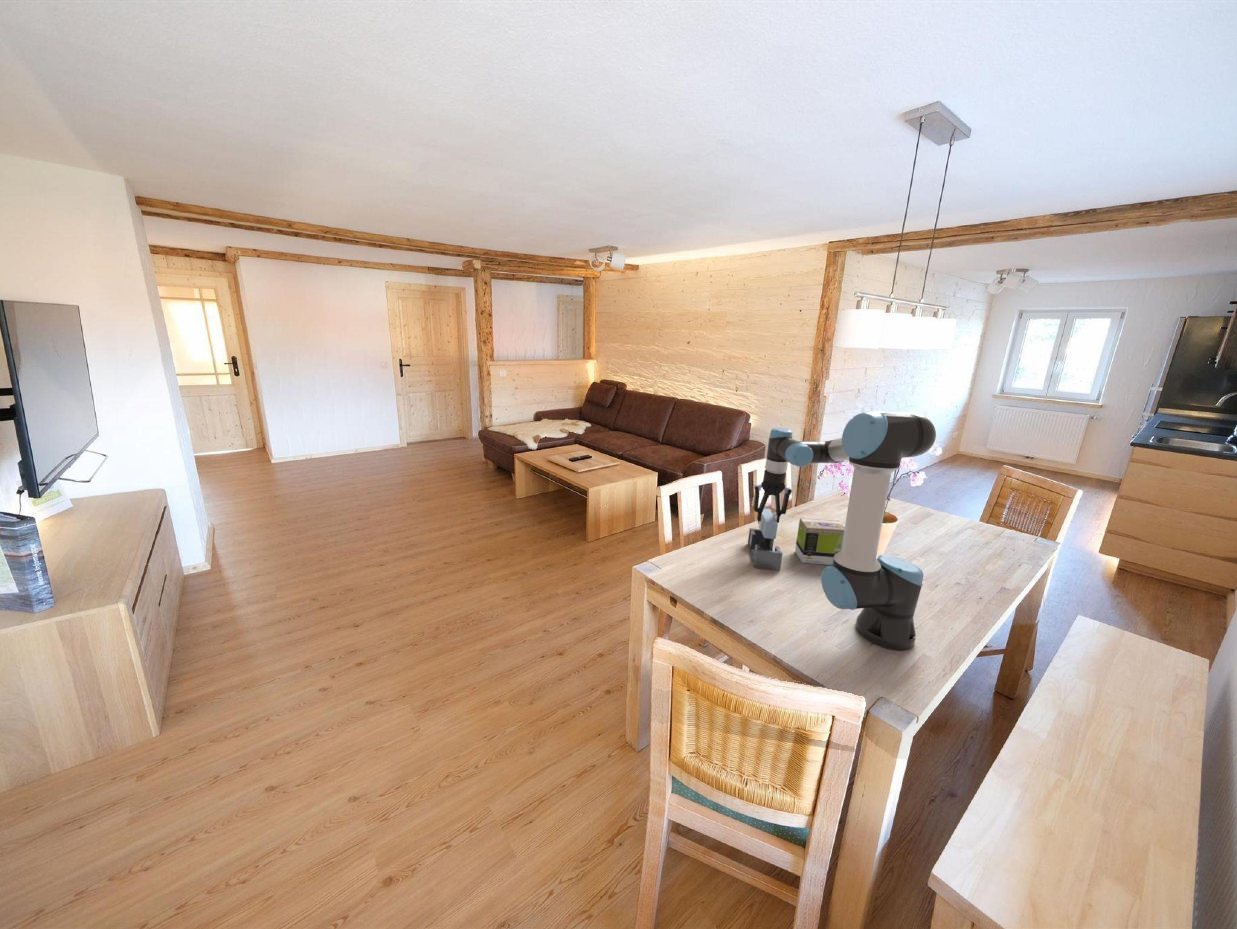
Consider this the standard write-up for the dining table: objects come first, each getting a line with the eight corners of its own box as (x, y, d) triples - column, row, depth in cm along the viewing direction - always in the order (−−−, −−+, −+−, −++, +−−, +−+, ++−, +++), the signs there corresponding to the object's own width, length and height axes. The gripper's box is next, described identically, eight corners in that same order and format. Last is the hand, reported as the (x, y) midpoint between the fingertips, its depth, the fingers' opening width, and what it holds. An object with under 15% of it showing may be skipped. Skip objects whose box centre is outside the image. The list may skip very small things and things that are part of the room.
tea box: (833, 554, 184) (839, 520, 180) (842, 567, 175) (849, 530, 170) (793, 551, 185) (799, 516, 181) (800, 563, 176) (807, 527, 172)
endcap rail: (779, 570, 170) (782, 553, 168) (754, 568, 171) (756, 550, 169) (770, 546, 189) (772, 530, 187) (747, 544, 190) (749, 528, 188)
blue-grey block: (775, 538, 170) (777, 523, 168) (764, 538, 171) (766, 522, 169) (767, 523, 183) (770, 508, 182) (757, 522, 184) (759, 508, 182)
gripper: (797, 469, 172) (787, 527, 179) (750, 465, 174) (742, 523, 181) (802, 475, 165) (792, 536, 172) (752, 471, 167) (744, 531, 174)
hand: (766, 529), depth 176 cm, fingers closed on blue-grey block, 4 cm apart
